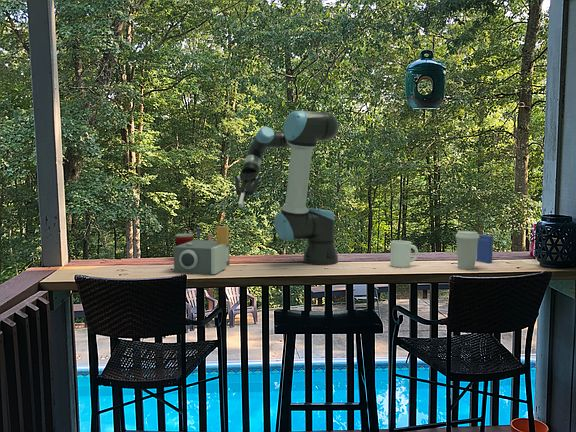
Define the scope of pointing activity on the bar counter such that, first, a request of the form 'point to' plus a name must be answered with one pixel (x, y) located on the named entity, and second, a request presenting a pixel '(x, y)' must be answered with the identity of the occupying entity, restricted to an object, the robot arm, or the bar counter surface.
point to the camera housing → (195, 256)
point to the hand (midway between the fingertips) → (240, 205)
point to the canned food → (183, 238)
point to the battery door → (219, 250)
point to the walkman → (484, 249)
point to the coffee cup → (466, 249)
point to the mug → (402, 253)
